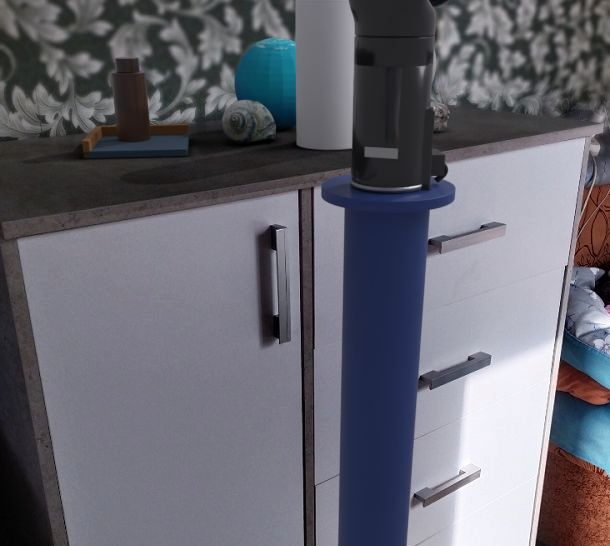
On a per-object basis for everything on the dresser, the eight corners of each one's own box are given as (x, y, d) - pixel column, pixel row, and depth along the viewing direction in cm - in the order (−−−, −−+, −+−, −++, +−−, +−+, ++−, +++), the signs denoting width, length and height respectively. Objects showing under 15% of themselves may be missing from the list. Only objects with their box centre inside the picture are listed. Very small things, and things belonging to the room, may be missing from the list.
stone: (362, 129, 133) (404, 139, 127) (367, 94, 131) (410, 103, 124) (413, 130, 142) (455, 139, 135) (419, 97, 139) (461, 105, 132)
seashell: (283, 148, 128) (228, 157, 120) (256, 125, 131) (200, 131, 123) (295, 113, 124) (238, 120, 116) (266, 90, 127) (209, 95, 119)
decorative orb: (232, 124, 143) (229, 36, 136) (312, 121, 145) (312, 35, 138) (240, 136, 129) (236, 40, 123) (327, 134, 132) (327, 39, 125)
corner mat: (189, 139, 127) (188, 123, 126) (186, 156, 114) (185, 138, 113) (97, 141, 126) (95, 125, 125) (84, 158, 112) (81, 140, 111)
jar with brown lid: (152, 136, 124) (145, 56, 119) (150, 141, 119) (142, 58, 114) (119, 136, 124) (111, 56, 118) (116, 142, 119) (107, 59, 114)
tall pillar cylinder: (376, 143, 123) (383, -33, 111) (330, 152, 116) (332, -35, 105) (328, 136, 129) (330, -31, 118) (282, 144, 123) (279, -33, 112)
